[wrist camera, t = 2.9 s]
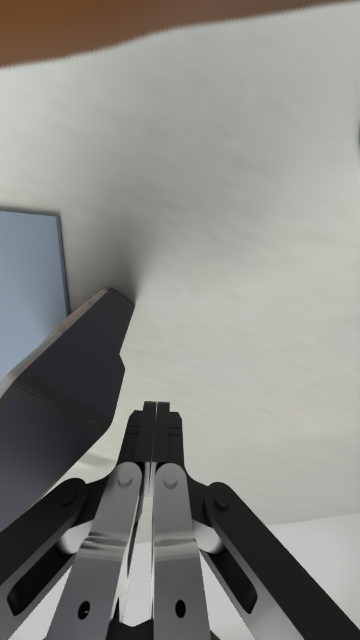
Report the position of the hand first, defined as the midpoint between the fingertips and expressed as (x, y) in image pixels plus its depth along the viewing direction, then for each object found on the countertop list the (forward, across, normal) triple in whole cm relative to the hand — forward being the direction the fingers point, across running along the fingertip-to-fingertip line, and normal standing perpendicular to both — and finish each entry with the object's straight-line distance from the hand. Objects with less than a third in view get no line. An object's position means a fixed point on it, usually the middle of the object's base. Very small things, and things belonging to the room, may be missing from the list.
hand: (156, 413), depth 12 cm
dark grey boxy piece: (+11, +8, 0) cm, 13 cm away
